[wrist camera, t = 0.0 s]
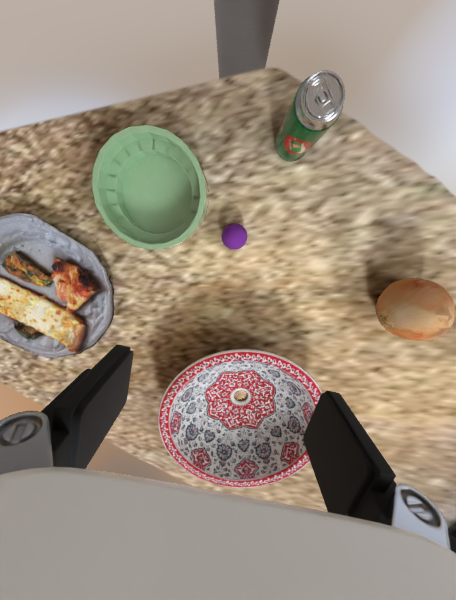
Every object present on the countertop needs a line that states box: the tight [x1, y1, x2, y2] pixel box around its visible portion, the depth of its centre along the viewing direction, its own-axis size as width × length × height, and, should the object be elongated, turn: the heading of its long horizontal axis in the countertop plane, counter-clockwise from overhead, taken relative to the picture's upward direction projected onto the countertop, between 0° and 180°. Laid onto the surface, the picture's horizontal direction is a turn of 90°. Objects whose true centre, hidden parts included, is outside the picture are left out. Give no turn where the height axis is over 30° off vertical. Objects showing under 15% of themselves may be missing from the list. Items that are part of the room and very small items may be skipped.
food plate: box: [0, 213, 114, 358], centre depth 39 cm, size 25×23×4 cm
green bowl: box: [92, 125, 209, 250], centre depth 34 cm, size 16×16×5 cm
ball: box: [222, 223, 247, 249], centre depth 36 cm, size 4×4×4 cm
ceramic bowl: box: [158, 349, 322, 488], centre depth 43 cm, size 29×29×8 cm
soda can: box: [275, 70, 345, 161], centre depth 28 cm, size 5×5×12 cm
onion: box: [376, 278, 455, 341], centre depth 36 cm, size 10×10×10 cm
